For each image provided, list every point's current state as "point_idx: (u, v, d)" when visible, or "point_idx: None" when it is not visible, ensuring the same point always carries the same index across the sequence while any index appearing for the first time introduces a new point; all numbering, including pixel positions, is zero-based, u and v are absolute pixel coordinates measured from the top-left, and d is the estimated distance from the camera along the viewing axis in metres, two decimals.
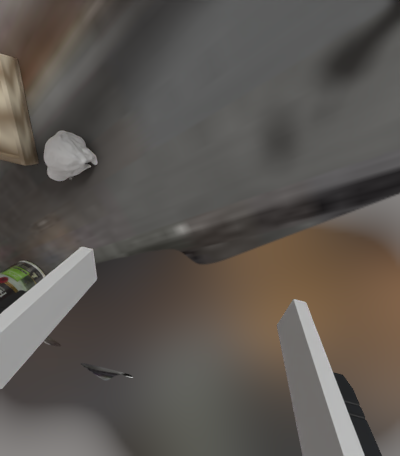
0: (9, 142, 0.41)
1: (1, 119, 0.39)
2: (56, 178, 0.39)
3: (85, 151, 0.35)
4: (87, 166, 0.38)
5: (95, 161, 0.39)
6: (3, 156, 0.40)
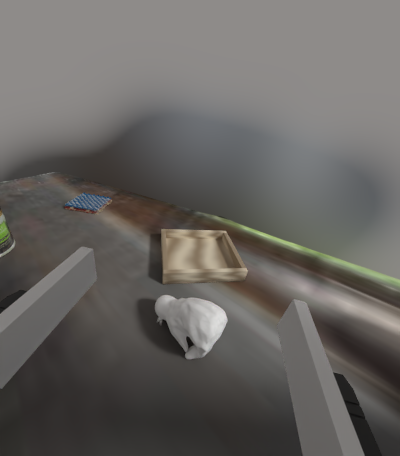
0: (177, 263, 0.44)
1: (194, 261, 0.45)
2: (161, 305, 0.30)
3: (210, 346, 0.26)
4: (186, 347, 0.27)
5: (191, 356, 0.28)
6: (166, 256, 0.42)
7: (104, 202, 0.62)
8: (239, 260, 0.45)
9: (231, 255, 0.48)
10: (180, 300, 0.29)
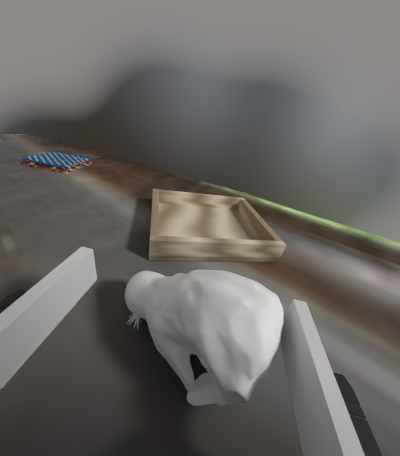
0: (173, 232, 0.28)
1: (201, 231, 0.30)
2: (136, 289, 0.15)
3: None
4: (191, 381, 0.12)
5: (202, 401, 0.12)
6: (157, 219, 0.26)
7: (79, 161, 0.46)
8: (270, 231, 0.29)
9: (254, 227, 0.33)
10: (176, 276, 0.14)
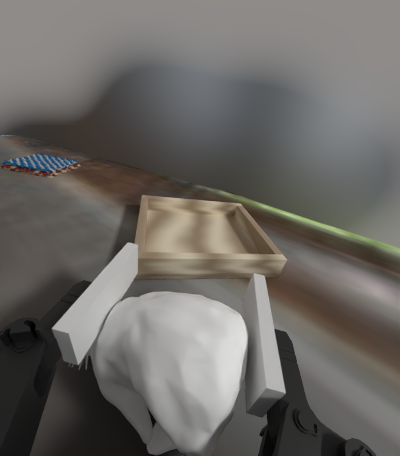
0: (162, 244, 0.26)
1: (193, 243, 0.27)
2: None
3: None
4: (147, 432, 0.10)
5: (165, 448, 0.10)
6: (143, 231, 0.23)
7: (66, 164, 0.44)
8: (269, 242, 0.26)
9: (252, 236, 0.30)
10: (124, 303, 0.11)
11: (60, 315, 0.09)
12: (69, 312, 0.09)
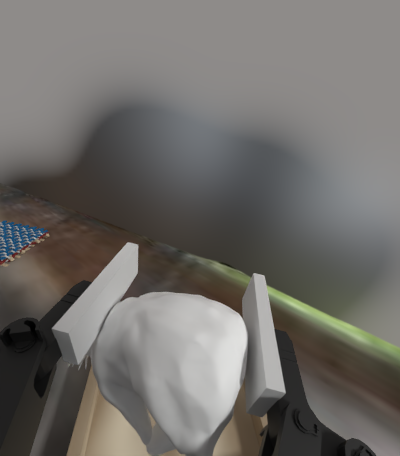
0: (116, 432, 0.18)
1: None
2: None
3: None
4: (147, 432, 0.10)
5: (164, 449, 0.10)
6: (82, 436, 0.16)
7: (29, 240, 0.37)
8: None
9: None
10: (123, 303, 0.11)
11: (60, 315, 0.09)
12: (69, 312, 0.09)
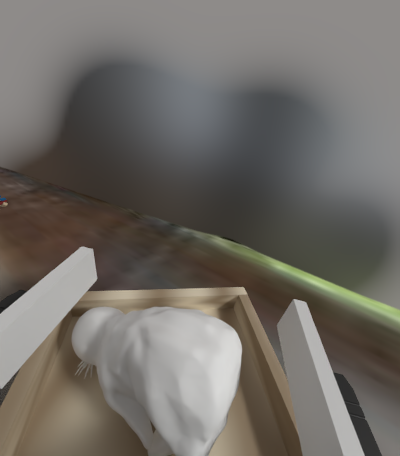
0: None
1: (138, 447, 0.12)
2: (83, 334, 0.13)
3: None
4: (148, 438, 0.10)
5: (164, 453, 0.11)
6: None
7: None
8: None
9: (269, 393, 0.15)
10: (127, 317, 0.12)
11: None
12: None
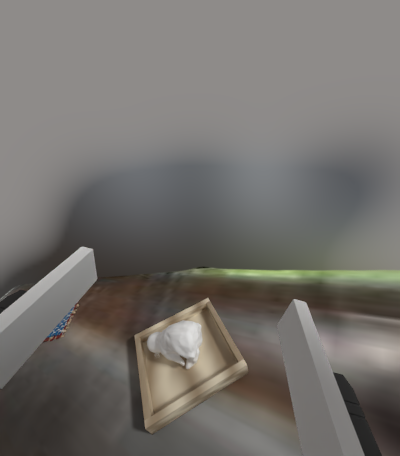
0: (162, 384, 0.35)
1: (183, 368, 0.37)
2: (151, 344, 0.38)
3: (197, 351, 0.35)
4: (182, 362, 0.35)
5: (190, 365, 0.36)
6: (145, 389, 0.33)
7: (68, 314, 0.53)
8: (233, 347, 0.36)
9: (223, 336, 0.39)
10: (162, 332, 0.37)
11: None
12: None
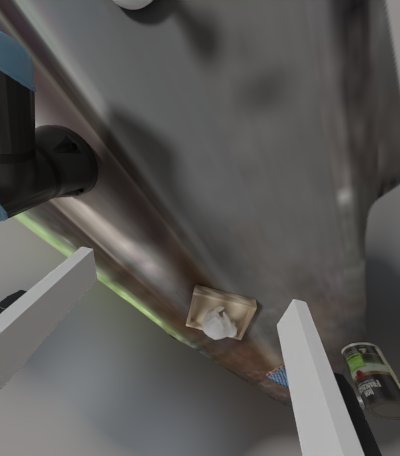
0: (239, 310, 0.58)
1: (225, 308, 0.58)
2: (233, 333, 0.57)
3: (212, 314, 0.55)
4: (223, 314, 0.56)
5: (220, 308, 0.57)
6: (248, 318, 0.56)
7: (274, 374, 0.71)
8: (193, 300, 0.56)
9: (194, 304, 0.59)
10: None
11: None
12: None
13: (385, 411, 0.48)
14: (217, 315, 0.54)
